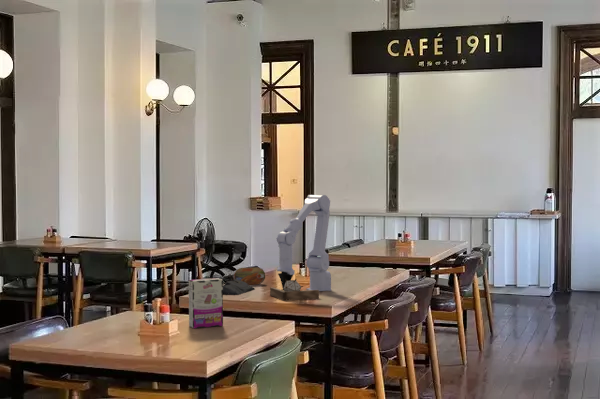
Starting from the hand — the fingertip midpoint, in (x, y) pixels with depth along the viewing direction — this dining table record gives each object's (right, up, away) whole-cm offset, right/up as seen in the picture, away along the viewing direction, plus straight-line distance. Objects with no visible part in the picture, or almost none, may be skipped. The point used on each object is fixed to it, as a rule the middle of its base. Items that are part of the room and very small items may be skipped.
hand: (285, 289), depth 343 cm
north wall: (+7, -3, -12) cm, 14 cm away
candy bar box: (-26, -5, -74) cm, 79 cm away
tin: (-18, -2, +32) cm, 37 cm away
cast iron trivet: (-24, -3, +9) cm, 26 cm away
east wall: (-3, -3, -9) cm, 10 cm away
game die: (+3, -3, -8) cm, 9 cm away
